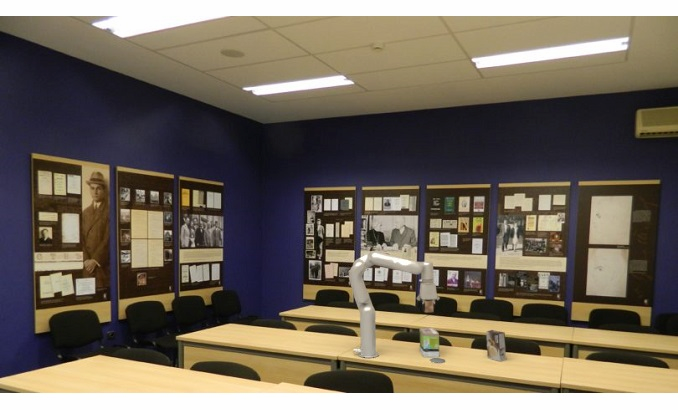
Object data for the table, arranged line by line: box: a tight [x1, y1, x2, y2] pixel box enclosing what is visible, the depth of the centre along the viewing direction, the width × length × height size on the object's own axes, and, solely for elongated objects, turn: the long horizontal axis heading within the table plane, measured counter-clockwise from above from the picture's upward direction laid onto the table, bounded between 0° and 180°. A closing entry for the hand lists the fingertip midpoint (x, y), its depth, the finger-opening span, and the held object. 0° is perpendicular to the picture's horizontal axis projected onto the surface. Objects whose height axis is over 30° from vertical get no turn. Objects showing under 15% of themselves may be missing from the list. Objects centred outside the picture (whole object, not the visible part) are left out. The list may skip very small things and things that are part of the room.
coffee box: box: [486, 329, 507, 362], centre depth 263 cm, size 9×6×16 cm
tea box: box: [419, 327, 440, 358], centre depth 276 cm, size 15×10×15 cm, turn 179°
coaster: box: [429, 357, 446, 364], centre depth 261 cm, size 9×9×1 cm
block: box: [424, 300, 434, 313], centre depth 277 cm, size 5×5×7 cm
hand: (428, 309), depth 277 cm, fingers closed on block, 5 cm apart
